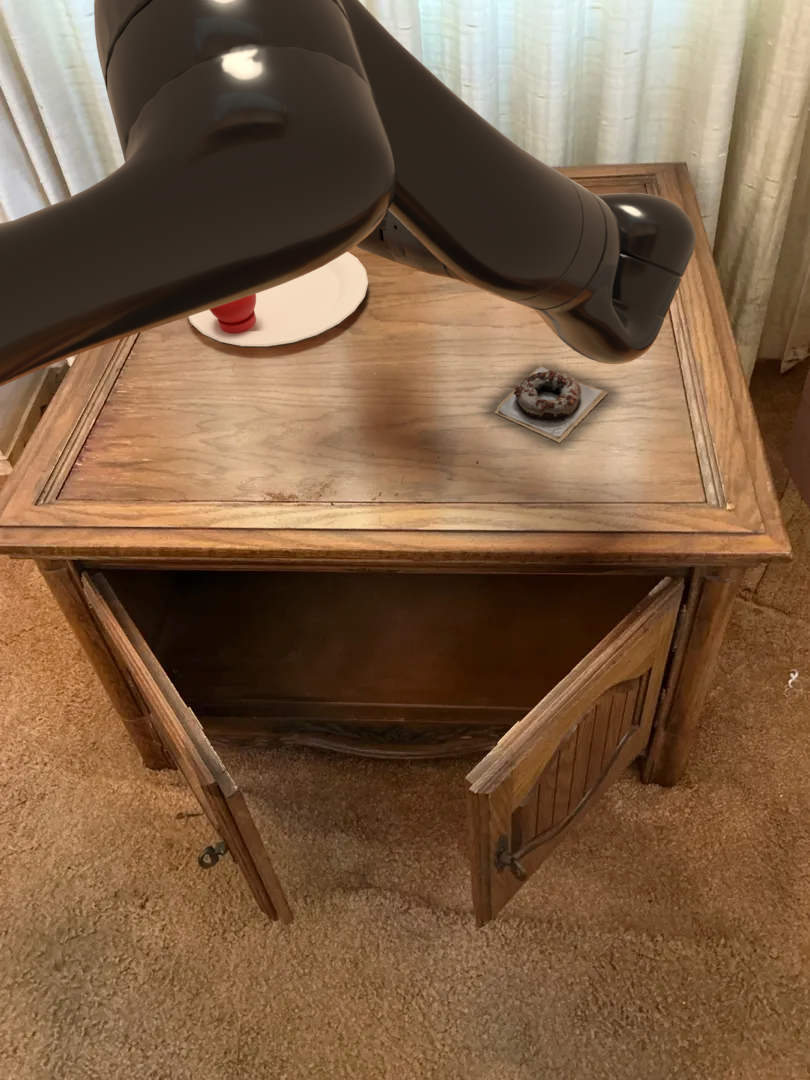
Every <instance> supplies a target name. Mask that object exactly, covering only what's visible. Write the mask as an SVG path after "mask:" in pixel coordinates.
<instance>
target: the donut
mask: <svg viewBox="0 0 810 1080" xmlns="http://www.w3.org/2000/svg"><path fill="white" fill-rule="evenodd" d="M513 389H514V390H513V391H511V393H509V394H508V396H506V397H505V398H504V399H503V400H502V401H501V402H500V403H498V406H497V407H496V408H497V409H496V410H495V411H494V412H495V414H496V415H498V416H500V417H503V418H505V419H507V420H510V421H511V422H513V423H516V424H518V425H520V426H522V427H525V428H526V429H527V430H528V429H529V430H530V431H533V432H535V433H538V434H540V435H541V436H544V437H546V438H549V439H551V440H553V441H555V442H557V443H559V444H560V443H561V442H562V441H564V439H566V438H567V436H569V434H571V432H572V431H573V430H574V428H575V427H577V426H578V425H579V424H580V423H581V422H582V420H583V419H584V418H585V417H587V416H588V415H589V413H590V412H591V411H592V410H593V409H594V408H595V407H596V406H597V405H598V404H599V403H600V402H601V401H602V399H604V398H605V396H607V394H608V393H609V392H608V391H606V390H604V389H600V388H597V387H595V386H593V385H591V384H590V385H589V384H587V383H584V382H582V381H578V380H576V379H575V378H574V377H573V376H571V375H569V374H567V373H564V372H563V373H562V372H557V371H554V370H552V369H547V368H546V367H544V366H541V365H540V366H537V367H536V368H535V370H534V371H532V372H531V373H530V375H528V376H527V377H525V378H524V379H523V381H522V382H520V384H519V385H518V386H514V387H513Z"/></svg>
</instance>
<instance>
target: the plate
mask: <svg viewBox="0 0 810 1080" xmlns="http://www.w3.org/2000/svg"><path fill="white" fill-rule="evenodd" d="M368 287H369V278H368V273H367V269H366V268H365V266H364V265H363V264H362V262H361V261H360V260H359V258H358V257H357V256H356V255H353V254H352V253H350V252H349V251H347V252H346V253H344V254H343V255H341V256H340V257H338V258H337V259H335V260H333V261H331V262H330V263H328V264H326V265H324V266H322V267H320V268H318V269H316V270H314V271H312V272H310V273H308V274H305V275H303V276H301V277H298V278H296V279H293V280H291V281H289V282H286V283H284V284H281V285H278V286H276V287H273V288H270V289H268V290H265V291H262V292H259V293H256V305H255V308H254V312H255V316H256V323H255V324H254V326H253V327H252V328H250V329H249V330H247V331H244V332H241V333H227V332H224V331H223V330H222V329H221V328H220V326H219V322H218V318H216V317H215V316H214V315H213V314H212V313H211V311H210V310H206V311H203V312H200V313H197V314H194V315H191V316H188V317H187V318H188V320H189V323H190V325H191V326H192V327H194V328H195V329H196V330H197V331H198V332H199V333H200V334H201V335H203V336H204V337H206V338H209V339H211V340H213V341H215V342H218V343H219V344H223V345H229V346H233V347H238V348H243V349H245V348H247V349H253V348H254V349H268V348H270V349H271V348H277V347H282V346H289V345H290V346H291V345H295V344H299V343H301V342H304V341H307V340H311V339H314V338H317V337H319V336H321V335H323V334H326V333H327V332H328V331H331V330H333V329H334V328H336V327H338V326H340V325H341V324H342V323H343V322H345V321H346V320H347V319H348V318H350V316H352V315H353V314H354V313H355V312H356V311H357V309H358V308H359V307H360V305H361V304H362V303H363V301H364V300H365V299H366V295H367V291H368Z"/></svg>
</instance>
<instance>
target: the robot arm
mask: <svg viewBox="0 0 810 1080" xmlns="http://www.w3.org/2000/svg"><path fill="white" fill-rule="evenodd" d="M93 13H94V14H93V15H94V17H93V18H94V19H93V21H94V22H93V23H94V36H95V44H96V49H97V55H98V56H97V57H98V61H99V64H100V69H101V73H102V77H103V82H104V85H105V86H104V87H105V89H106V94H107V98H108V102H109V105H110V106H109V107H110V110H111V114H112V118H113V122H114V125H115V129H116V133H117V137H118V141H119V144H120V148H121V152H122V157H123V159H124V163H123V164H122V165H121V166H119V167H118V168H117V169H116V170H114V171H113V172H112V173H110V174H109V175H107V176H106V177H104V179H102V180H100V181H98V182H96V183H95V184H93V185H92V186H89V187H88V188H86V189H84V190H82V191H80V192H78V193H76V194H73V195H71V196H70V197H67V198H65V199H63V200H62V201H61V200H60V201H59V202H55V203H54V204H51V205H49V206H46V207H44V208H41V209H39V210H36V211H33V212H31V213H29V214H26V215H23V216H20V217H19V218H15V219H14V220H9V221H5V222H1V223H0V387H2V386H5V385H8V384H10V383H12V382H14V381H16V380H19V379H22V378H23V377H25V376H28V375H30V374H32V373H35V372H37V371H40V370H42V369H45V368H48V367H50V366H52V365H55V364H57V363H59V362H61V361H65V360H67V359H70V358H72V357H74V356H77V355H80V354H82V353H85V352H88V351H90V350H93V349H96V348H99V347H102V346H105V345H108V344H111V343H114V342H116V341H120V340H122V339H125V338H128V337H131V336H134V335H137V334H140V333H143V332H146V331H149V330H152V329H155V328H158V327H162V326H164V325H168V324H170V323H173V322H177V321H179V320H182V319H186V318H188V316H191V315H194V314H197V313H200V312H203V311H206V310H209V309H212V308H215V307H218V306H221V305H224V304H227V303H230V302H233V301H236V300H239V299H242V298H245V297H247V296H250V295H253V294H256V293H259V292H262V291H265V290H268V289H270V288H273V287H276V286H278V285H281V284H284V283H286V282H289V281H291V280H293V279H296V278H298V277H301V276H303V275H305V274H308V273H310V272H312V271H314V270H316V269H318V268H320V267H322V266H324V265H326V264H328V263H330V262H331V261H333V260H335V259H337V258H338V257H340V256H341V255H343V254H344V253H346V252H349V251H350V250H352V249H354V248H355V247H357V248H358V249H359V250H362V251H364V252H367V253H369V254H373V255H375V256H379V257H381V258H382V259H383V258H384V259H385V260H389V261H392V262H395V263H396V264H397V263H398V264H400V265H402V266H405V267H408V268H410V269H413V270H416V271H419V272H421V273H424V274H428V275H433V276H435V277H436V276H438V277H442V278H447V279H452V280H454V281H458V282H459V283H460V282H461V283H463V284H465V285H469V286H470V287H471V286H472V287H474V288H476V289H479V290H481V291H484V292H485V293H488V294H490V295H492V296H494V297H498V298H499V299H504V300H507V301H509V302H511V303H515V304H518V305H520V306H522V307H526V308H529V309H531V310H534V312H536V313H537V315H539V316H540V318H541V319H542V320H543V321H544V323H545V324H546V325H547V327H549V329H550V330H551V331H552V332H553V333H554V335H556V337H557V338H558V339H559V340H561V341H562V342H563V343H564V344H565V345H567V346H568V347H569V348H570V349H572V350H573V351H574V352H576V353H578V354H579V355H581V356H582V357H585V358H587V359H589V360H592V361H594V362H597V363H601V364H604V365H605V364H606V365H622V364H627V363H631V362H633V361H635V360H637V359H639V358H640V357H642V356H643V355H645V354H646V353H647V352H648V351H649V350H650V349H651V347H653V345H654V343H655V341H656V339H657V338H658V336H659V335H660V334H659V333H660V331H661V329H662V326H663V325H664V322H665V319H666V317H667V315H668V312H669V310H670V308H671V305H672V302H673V301H674V298H675V296H676V294H677V291H678V289H679V286H680V283H681V281H682V278H683V277H684V275H685V272H686V270H687V268H688V266H689V263H690V261H691V258H692V256H693V253H694V250H695V246H696V242H697V241H696V240H697V233H696V230H695V225H694V224H693V222H692V220H691V218H690V217H689V215H688V213H686V212H685V211H684V210H683V209H682V208H681V207H680V206H679V205H677V204H676V203H675V202H673V201H671V200H669V199H667V198H664V197H662V196H659V195H654V194H650V193H643V192H615V193H602V194H601V193H598V194H595V193H594V192H592V191H590V190H589V189H588V188H586V187H584V186H582V185H581V184H579V183H578V182H576V181H574V180H573V179H571V178H570V177H568V176H566V175H565V174H564V173H562V172H560V171H559V170H557V169H555V168H553V167H552V166H550V165H548V164H546V163H545V162H543V161H542V160H540V159H538V158H537V157H535V156H534V155H532V154H531V153H530V152H529V151H526V150H525V149H524V148H522V147H521V146H520V145H519V144H517V143H516V142H514V141H513V140H512V139H510V138H509V137H507V136H506V134H504V133H503V132H501V131H500V130H499V129H498V128H496V127H495V126H494V125H492V124H491V123H490V122H489V121H488V120H486V119H485V118H484V117H483V116H481V115H480V114H479V113H478V112H477V111H475V110H474V109H473V108H472V107H471V106H470V105H468V103H467V102H465V101H464V100H463V99H461V98H460V97H459V96H458V95H457V94H456V93H454V91H453V90H451V89H450V88H449V87H448V86H447V85H445V83H443V81H441V79H439V78H438V77H437V76H436V75H435V74H434V73H432V71H431V70H430V69H428V68H427V67H426V66H425V65H424V64H423V63H422V62H421V61H420V60H419V59H418V58H416V57H415V55H413V54H412V53H411V52H410V51H409V50H408V49H407V48H405V46H403V44H402V43H401V42H400V41H398V40H397V39H396V38H395V37H394V36H393V35H392V34H391V33H390V32H389V31H388V30H387V28H385V27H384V26H383V24H381V23H380V21H379V20H377V18H376V17H375V16H374V15H373V14H372V13H371V12H370V11H369V9H368V8H367V7H365V5H363V3H362V2H361V1H360V0H94V1H93Z"/></svg>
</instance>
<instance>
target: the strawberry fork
mask: <svg viewBox="0 0 810 1080" xmlns="http://www.w3.org/2000/svg"><path fill="white" fill-rule="evenodd" d="M255 305H256V294H253V295H250V296H247V297H245V298H242V299H239V300H236V301H233V302H230V303H227V304H224V305H221V306H218V307H215V308H212V309H209V310H210V311H211V313H212V314H213V315H214V316H215V317H216V318H218V322H219V326H220V328H221V329H222V330H223V331H224V332H227V333H241V332H244V331H247V330H249V329H250V328H252V327H253V326H254V324H255V323H256V316H255V312H254V308H255Z"/></svg>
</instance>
